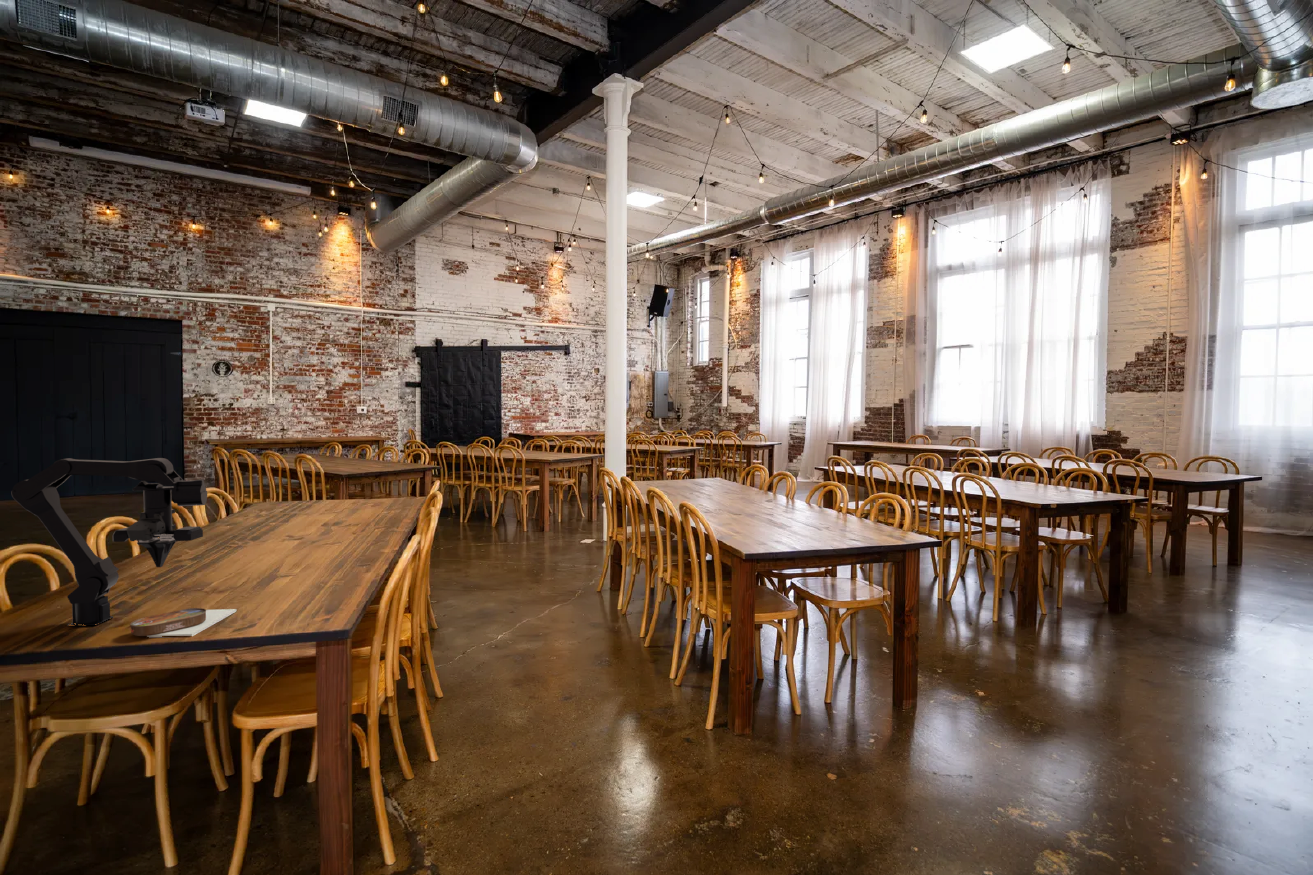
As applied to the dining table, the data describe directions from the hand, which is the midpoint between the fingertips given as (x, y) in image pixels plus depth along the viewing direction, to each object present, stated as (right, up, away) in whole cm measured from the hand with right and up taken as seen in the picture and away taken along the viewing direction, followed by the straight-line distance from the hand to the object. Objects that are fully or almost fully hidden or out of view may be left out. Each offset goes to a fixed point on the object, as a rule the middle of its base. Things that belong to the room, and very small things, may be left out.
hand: (159, 567), depth 167 cm
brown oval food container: (+6, -12, -6) cm, 15 cm away
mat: (+12, -13, -5) cm, 19 cm away
